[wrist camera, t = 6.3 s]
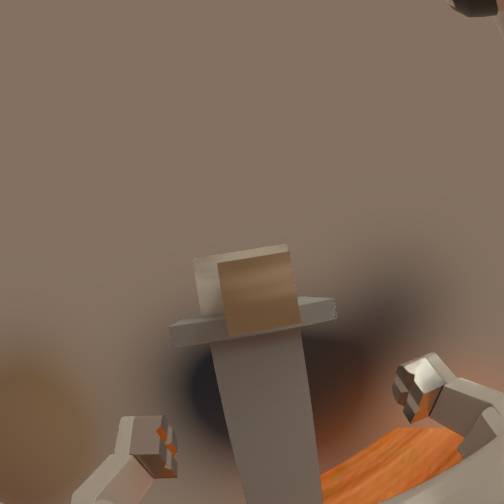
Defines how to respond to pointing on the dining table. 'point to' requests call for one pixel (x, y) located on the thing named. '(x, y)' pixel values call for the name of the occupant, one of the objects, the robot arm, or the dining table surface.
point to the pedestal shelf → (266, 402)
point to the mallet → (248, 289)
